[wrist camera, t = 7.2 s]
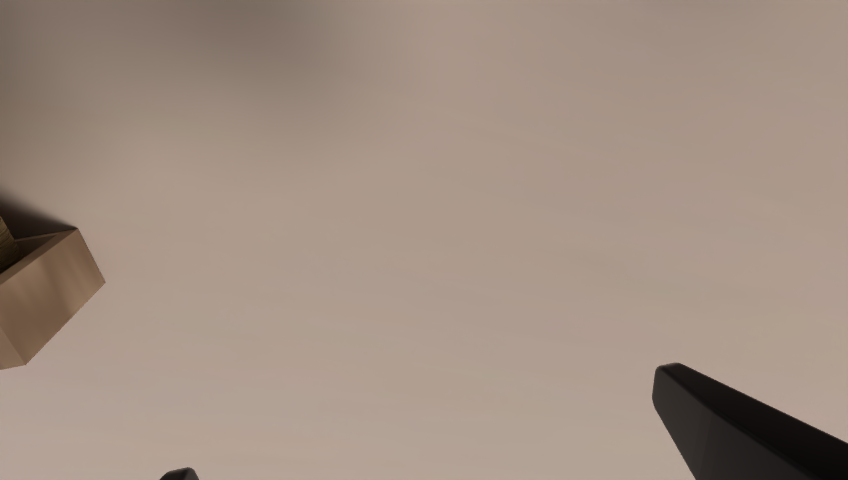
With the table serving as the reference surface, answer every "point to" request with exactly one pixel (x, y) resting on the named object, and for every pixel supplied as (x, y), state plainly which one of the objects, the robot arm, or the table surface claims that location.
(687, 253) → the table surface
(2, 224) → the gold elongated piece
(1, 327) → the socket block
